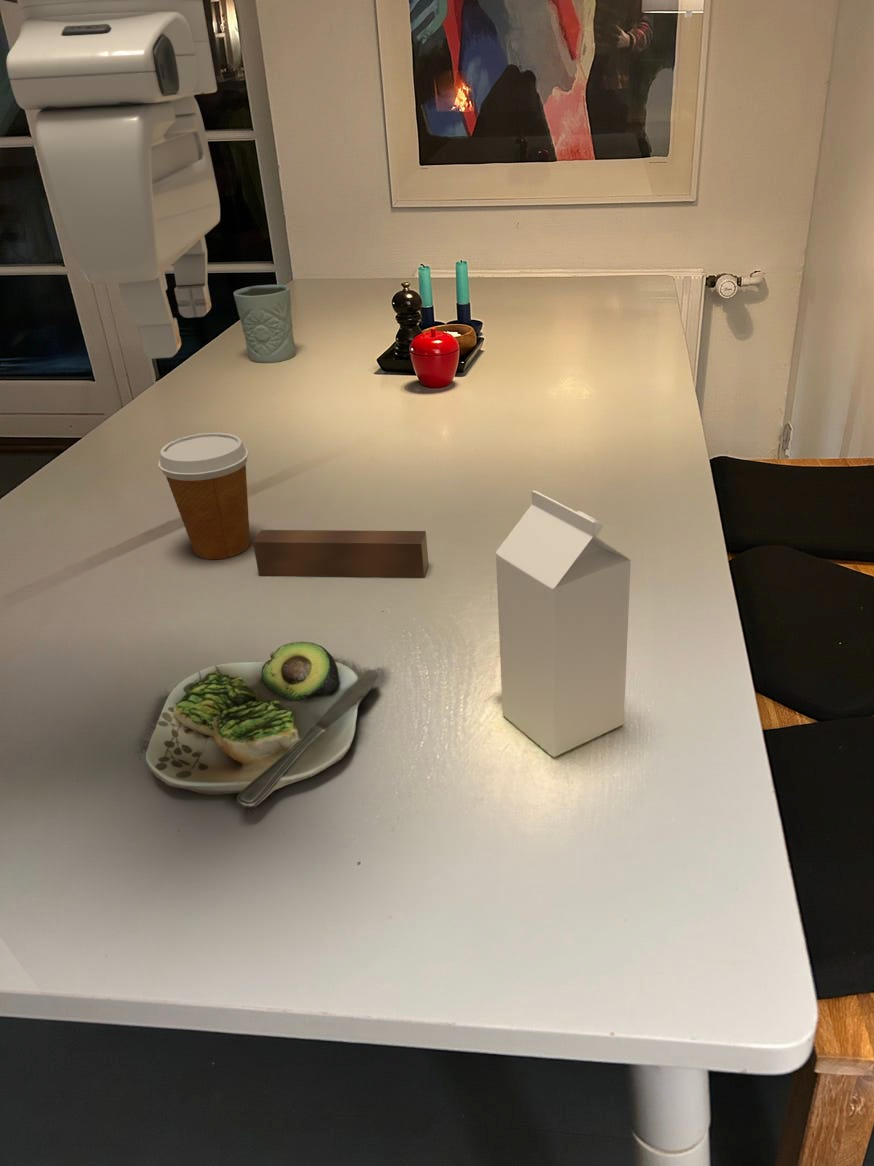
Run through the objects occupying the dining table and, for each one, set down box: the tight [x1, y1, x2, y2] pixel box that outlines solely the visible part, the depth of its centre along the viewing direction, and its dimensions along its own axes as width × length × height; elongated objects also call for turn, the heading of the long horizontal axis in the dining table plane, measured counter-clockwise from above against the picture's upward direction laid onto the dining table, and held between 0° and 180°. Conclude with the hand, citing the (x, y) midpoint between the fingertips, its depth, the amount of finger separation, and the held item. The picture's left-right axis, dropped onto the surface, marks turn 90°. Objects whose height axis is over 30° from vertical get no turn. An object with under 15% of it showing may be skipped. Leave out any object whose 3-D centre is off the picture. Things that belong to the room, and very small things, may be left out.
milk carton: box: [495, 490, 631, 758], centre depth 72 cm, size 7×7×19 cm
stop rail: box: [252, 529, 430, 578], centre depth 101 cm, size 18×3×4 cm, turn 84°
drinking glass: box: [233, 284, 296, 364], centre depth 174 cm, size 10×10×12 cm
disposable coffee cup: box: [157, 432, 251, 560], centre depth 105 cm, size 10×10×12 cm
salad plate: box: [145, 641, 380, 808], centre depth 75 cm, size 19×18×5 cm
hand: (181, 333), depth 56 cm, fingers open, 8 cm apart
